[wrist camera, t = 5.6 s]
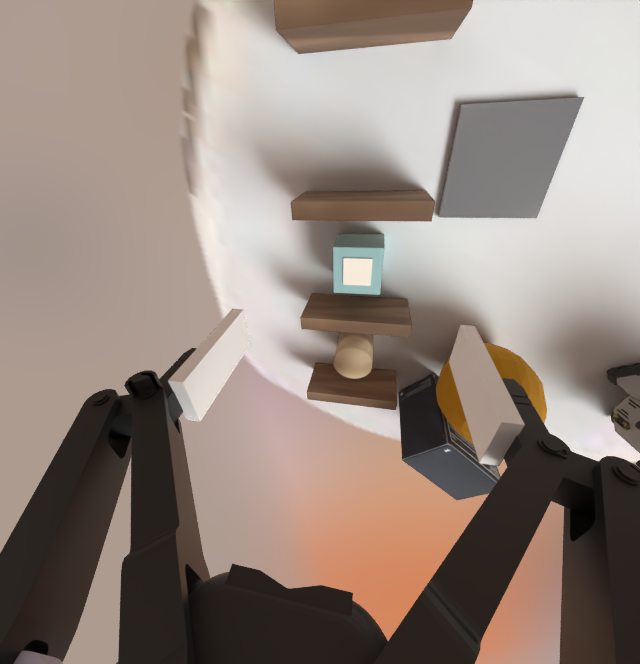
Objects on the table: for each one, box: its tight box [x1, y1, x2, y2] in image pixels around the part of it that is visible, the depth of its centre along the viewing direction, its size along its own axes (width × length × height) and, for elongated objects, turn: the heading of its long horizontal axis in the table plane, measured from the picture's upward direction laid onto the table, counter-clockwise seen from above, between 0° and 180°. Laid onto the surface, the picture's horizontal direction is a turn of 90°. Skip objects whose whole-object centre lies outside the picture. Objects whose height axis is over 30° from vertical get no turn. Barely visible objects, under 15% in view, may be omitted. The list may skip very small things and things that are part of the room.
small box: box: [399, 374, 501, 500], centre depth 35 cm, size 11×6×10 cm, turn 49°
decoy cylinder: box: [334, 332, 373, 379], centre depth 33 cm, size 4×4×5 cm
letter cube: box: [333, 234, 384, 295], centre depth 27 cm, size 4×4×5 cm
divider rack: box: [274, 0, 473, 410], centre depth 27 cm, size 34×11×6 cm, turn 2°
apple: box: [436, 343, 547, 445], centre depth 29 cm, size 10×10×12 cm
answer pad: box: [438, 97, 584, 218], centre depth 22 cm, size 8×8×1 cm
